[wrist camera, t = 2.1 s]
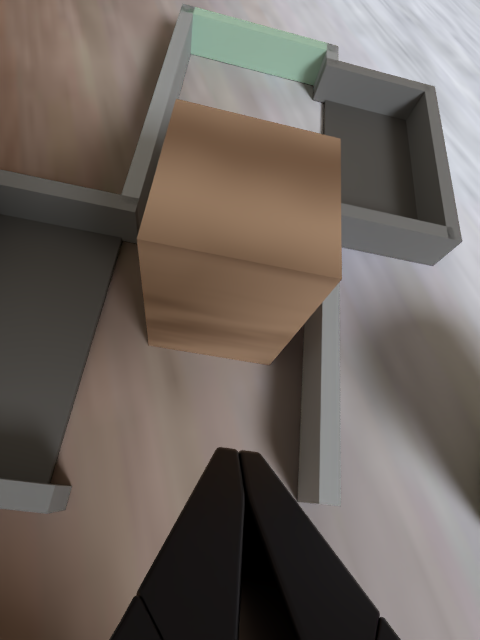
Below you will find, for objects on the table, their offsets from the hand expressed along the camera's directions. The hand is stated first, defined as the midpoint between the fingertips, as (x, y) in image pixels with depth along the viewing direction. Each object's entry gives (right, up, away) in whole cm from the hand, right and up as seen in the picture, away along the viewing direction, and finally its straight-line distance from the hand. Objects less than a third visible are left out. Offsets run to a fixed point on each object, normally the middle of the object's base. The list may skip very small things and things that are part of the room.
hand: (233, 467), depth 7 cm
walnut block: (-1, +7, +17) cm, 19 cm away
